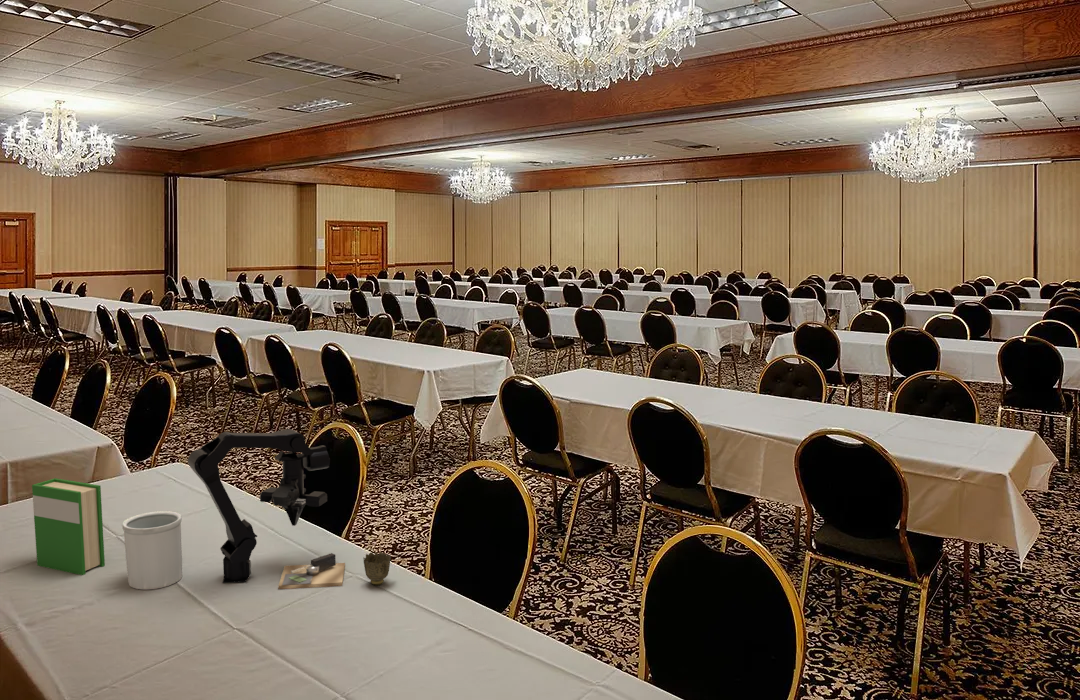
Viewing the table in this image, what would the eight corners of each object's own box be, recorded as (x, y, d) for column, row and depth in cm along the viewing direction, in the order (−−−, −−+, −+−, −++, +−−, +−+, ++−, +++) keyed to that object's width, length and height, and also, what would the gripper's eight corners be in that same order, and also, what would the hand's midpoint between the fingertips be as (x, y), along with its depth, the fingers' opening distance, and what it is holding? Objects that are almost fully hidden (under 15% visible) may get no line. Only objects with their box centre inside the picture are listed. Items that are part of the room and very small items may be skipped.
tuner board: (278, 589, 226) (278, 584, 226) (284, 569, 240) (284, 564, 239) (342, 585, 229) (342, 581, 229) (345, 566, 243) (345, 561, 242)
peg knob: (295, 581, 228) (295, 569, 227) (288, 577, 230) (287, 565, 230) (337, 566, 238) (337, 555, 238) (330, 563, 241) (329, 552, 240)
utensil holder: (113, 583, 228) (110, 522, 225) (160, 565, 241) (157, 507, 238) (149, 595, 221) (146, 532, 218) (195, 575, 234) (193, 516, 231)
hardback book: (104, 565, 240) (100, 485, 236) (82, 575, 233) (77, 492, 229) (60, 556, 246) (55, 478, 242) (37, 565, 239) (31, 485, 236)
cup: (384, 590, 226) (384, 562, 225) (359, 588, 228) (359, 560, 227) (394, 580, 234) (394, 552, 232) (370, 577, 235) (369, 550, 234)
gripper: (248, 478, 233) (250, 531, 236) (309, 484, 230) (310, 537, 232) (269, 468, 244) (270, 518, 246) (327, 473, 240) (328, 524, 242)
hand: (294, 525), depth 241 cm, fingers closed
